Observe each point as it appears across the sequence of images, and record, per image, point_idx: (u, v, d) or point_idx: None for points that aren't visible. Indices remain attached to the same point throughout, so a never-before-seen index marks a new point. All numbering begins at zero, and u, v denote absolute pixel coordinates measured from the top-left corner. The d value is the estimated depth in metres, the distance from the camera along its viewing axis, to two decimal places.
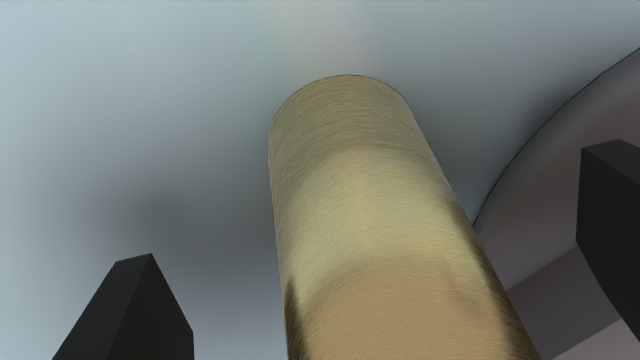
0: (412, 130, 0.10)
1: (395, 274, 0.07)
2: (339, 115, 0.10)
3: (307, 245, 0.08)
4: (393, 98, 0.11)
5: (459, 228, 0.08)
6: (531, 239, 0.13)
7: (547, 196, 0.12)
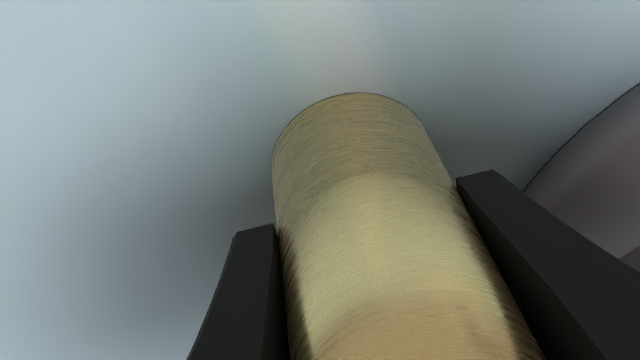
0: (429, 155, 0.09)
1: (418, 331, 0.06)
2: (350, 139, 0.09)
3: (317, 289, 0.07)
4: (407, 118, 0.10)
5: (485, 271, 0.07)
6: None
7: (569, 221, 0.11)
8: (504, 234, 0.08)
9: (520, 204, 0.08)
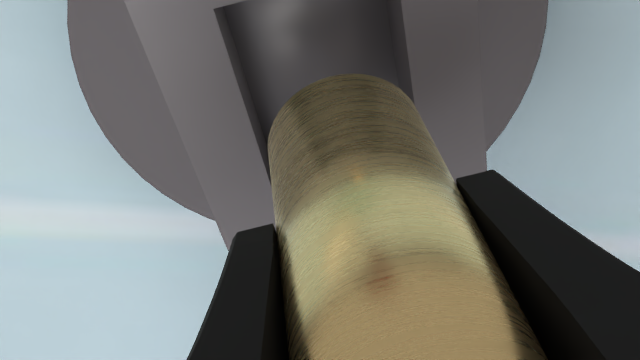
0: (420, 132, 0.10)
1: (405, 291, 0.06)
2: (344, 117, 0.09)
3: (311, 256, 0.07)
4: (399, 98, 0.10)
5: (471, 239, 0.07)
6: (185, 183, 0.18)
7: (151, 168, 0.18)
8: (504, 234, 0.08)
9: (520, 204, 0.08)
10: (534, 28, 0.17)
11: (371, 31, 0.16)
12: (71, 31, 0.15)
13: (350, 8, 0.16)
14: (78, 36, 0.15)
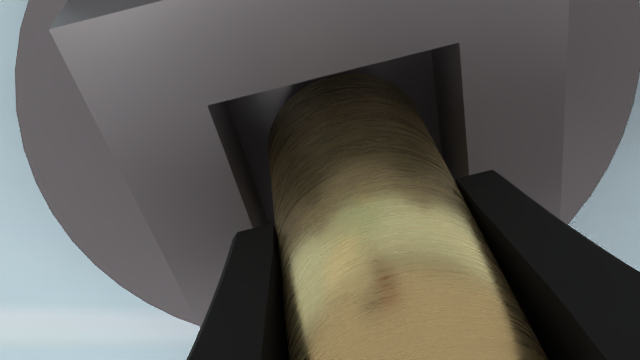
0: (420, 132, 0.10)
1: (405, 291, 0.06)
2: (344, 116, 0.09)
3: (311, 256, 0.07)
4: (399, 98, 0.10)
5: (471, 239, 0.07)
6: (174, 290, 0.15)
7: (131, 274, 0.14)
8: (504, 234, 0.08)
9: (520, 204, 0.08)
10: (619, 105, 0.13)
11: None
12: (22, 119, 0.12)
13: None
14: (31, 125, 0.12)
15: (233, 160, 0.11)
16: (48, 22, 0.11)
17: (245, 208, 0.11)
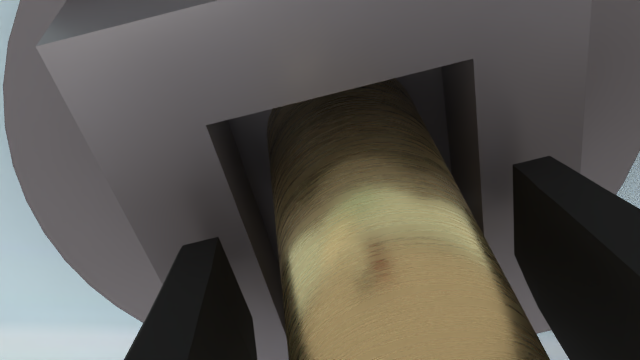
0: (412, 117, 0.10)
1: (394, 256, 0.07)
2: (339, 101, 0.10)
3: (306, 229, 0.08)
4: (393, 86, 0.11)
5: (459, 212, 0.08)
6: None
7: (127, 294, 0.14)
8: (574, 217, 0.08)
9: (585, 188, 0.08)
10: (636, 119, 0.13)
11: None
12: (12, 136, 0.11)
13: None
14: (21, 142, 0.11)
15: (233, 180, 0.10)
16: (38, 35, 0.10)
17: (246, 231, 0.10)
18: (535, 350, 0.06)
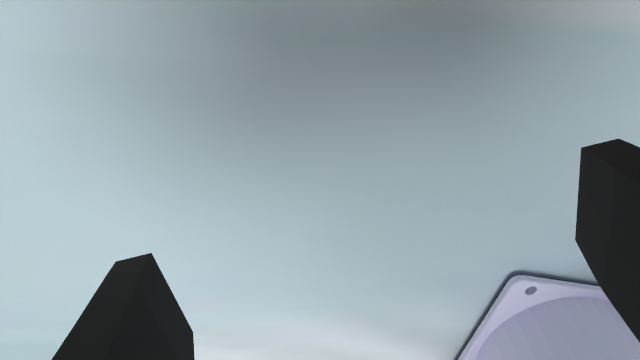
0: None
1: None
2: None
3: None
4: None
5: None
6: None
7: None
8: None
9: None
10: None
11: None
12: None
13: None
14: None
15: None
16: None
17: None
18: None
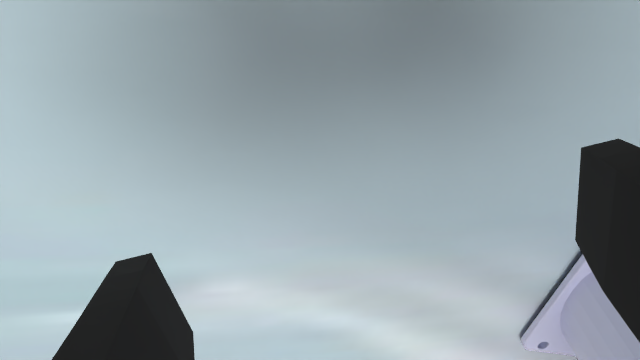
0: None
1: None
2: None
3: None
4: None
5: None
6: None
7: None
8: None
9: None
10: None
11: None
12: None
13: None
14: None
15: None
16: None
17: None
18: None
